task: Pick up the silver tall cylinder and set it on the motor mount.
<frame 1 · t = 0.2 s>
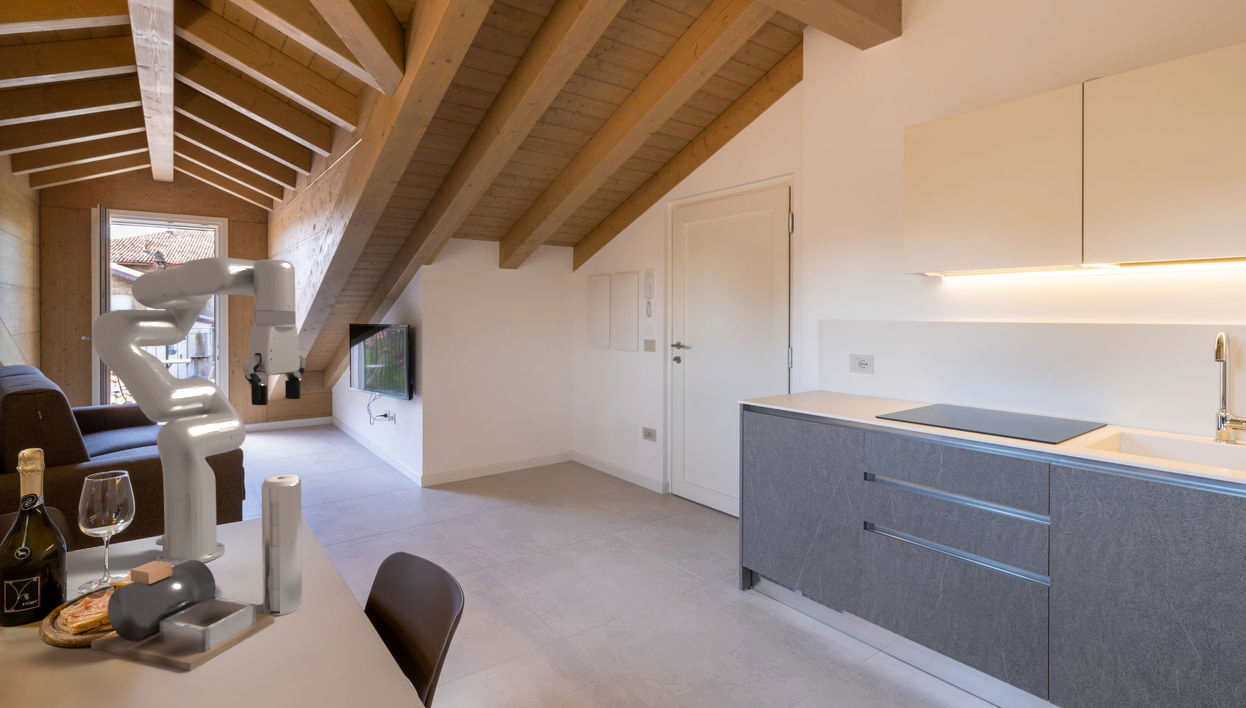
hand: (276, 401, 130), 37 cm above the table, tool pointing down, fingers open, 9 cm apart
silver tall cylinder: (282, 608, 117), on the table
motor mount: (186, 634, 107), on the table
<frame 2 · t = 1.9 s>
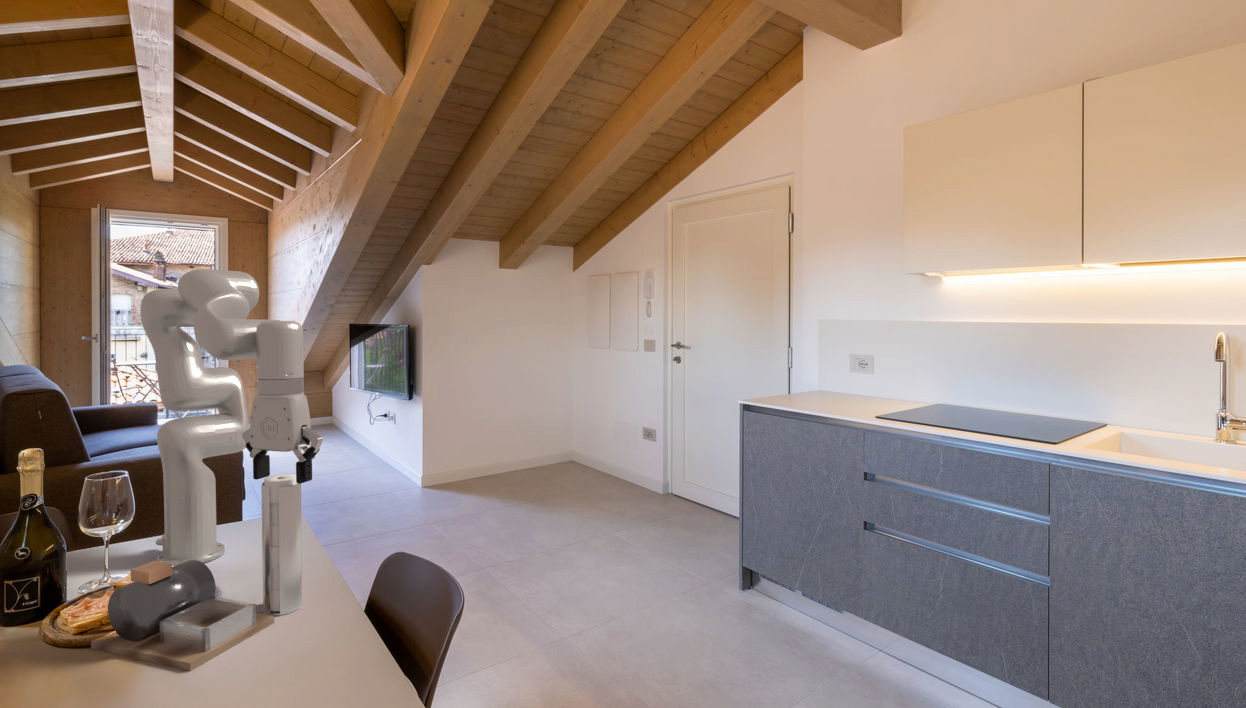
hand: (282, 479, 116), 25 cm above the table, tool pointing down, fingers open, 9 cm apart
nothing on the table moved.
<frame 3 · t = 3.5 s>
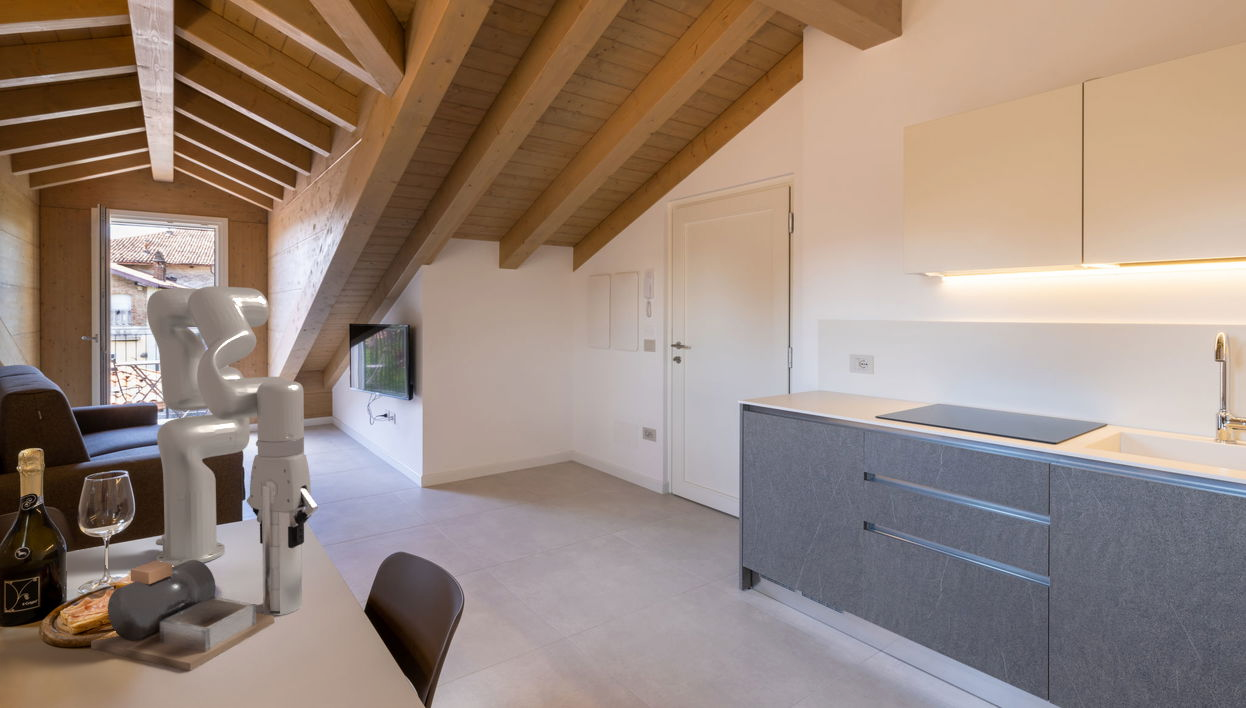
hand: (282, 542, 117), 13 cm above the table, tool pointing down, fingers closed on silver tall cylinder, 5 cm apart
silver tall cylinder: (282, 608, 117), on the table, touching gripper
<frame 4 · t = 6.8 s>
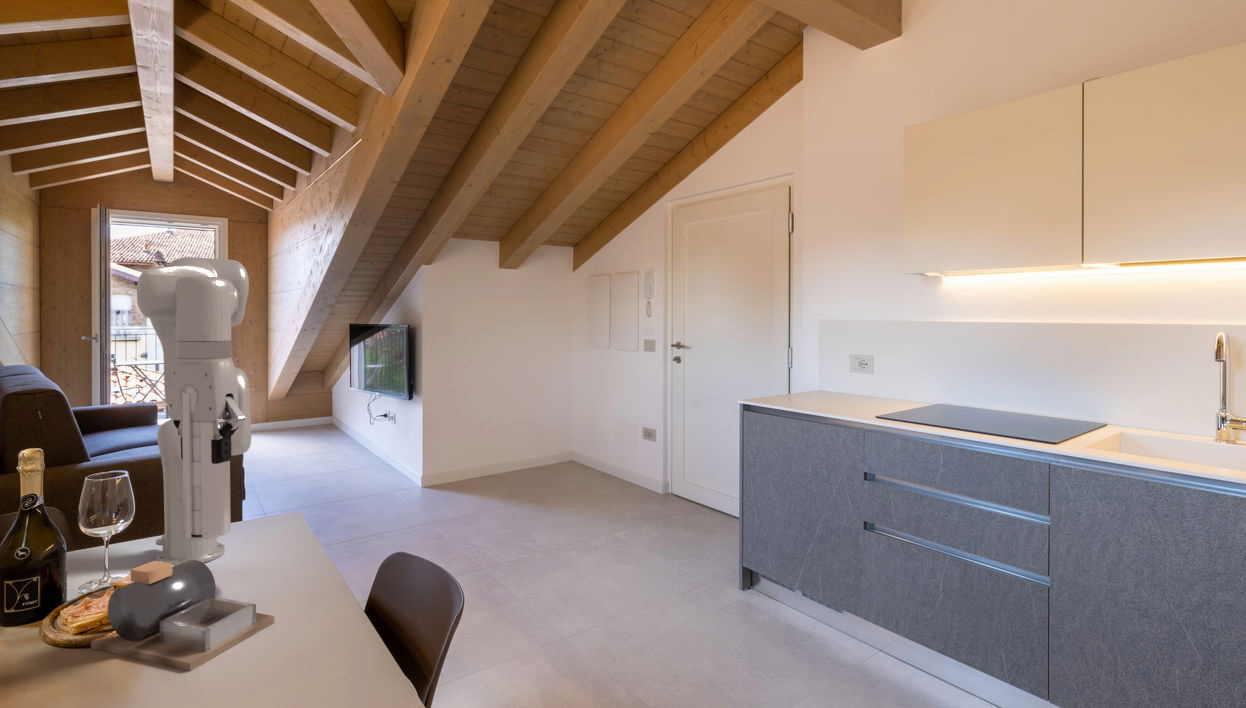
hand: (206, 459, 104), 31 cm above the table, tool pointing down, fingers closed on silver tall cylinder, 5 cm apart
silver tall cylinder: (207, 534, 104), point 18 cm above the table, touching gripper
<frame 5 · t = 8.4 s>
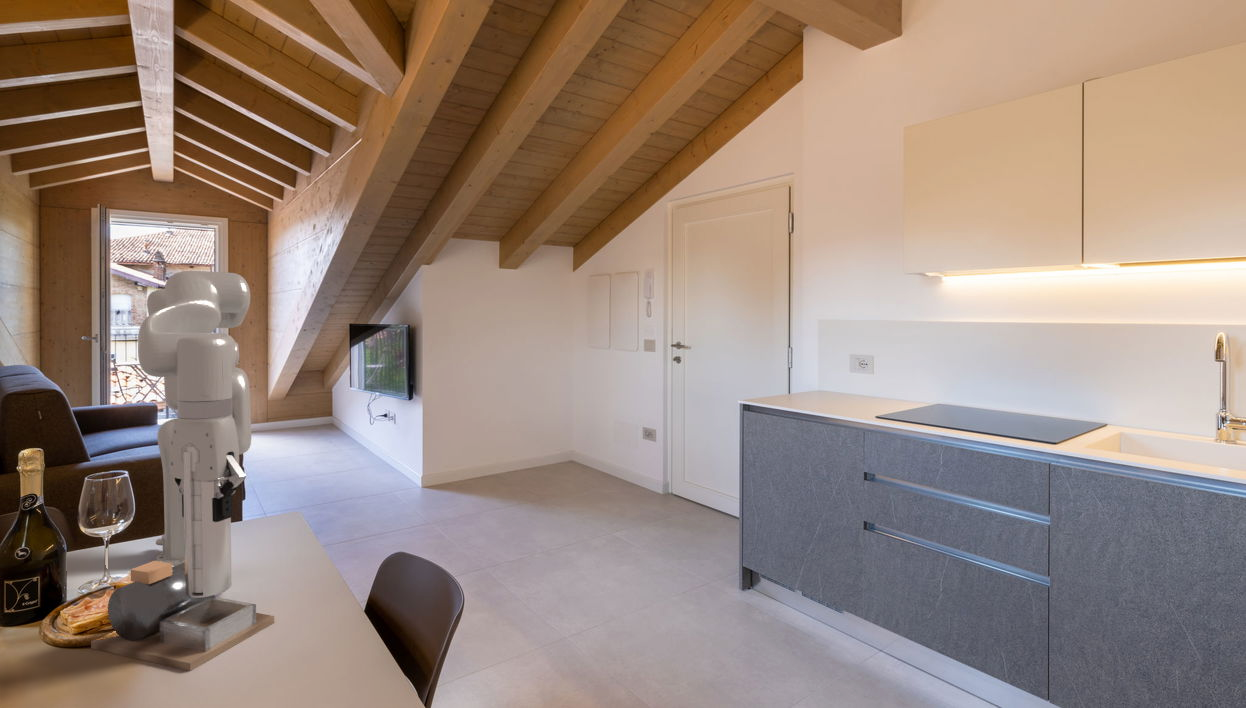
hand: (207, 516, 104), 21 cm above the table, tool pointing down, fingers closed on silver tall cylinder, 5 cm apart
silver tall cylinder: (208, 590, 105), point 9 cm above the table, touching gripper
when the fingers open (15 cm above the table, at t = 10.0 s): silver tall cylinder drops 2 cm, resting on motor mount.
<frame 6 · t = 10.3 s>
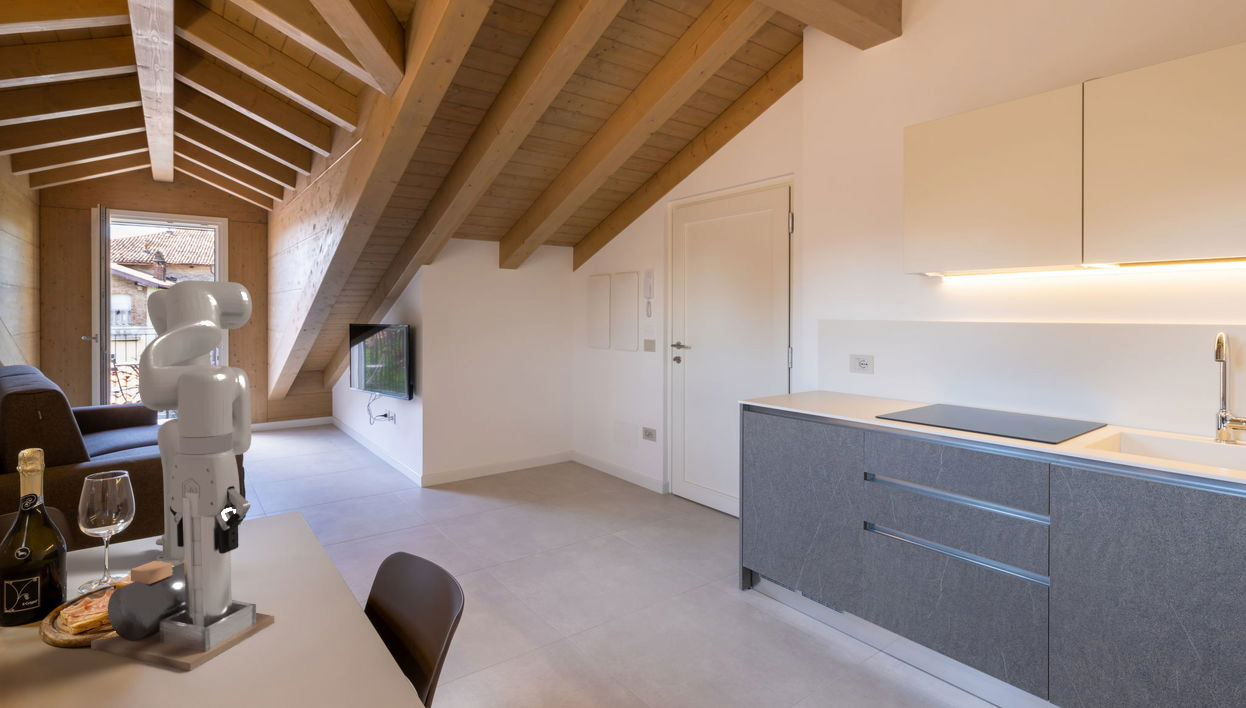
hand: (208, 547, 104), 16 cm above the table, tool pointing down, fingers open, 8 cm apart
silver tall cylinder: (209, 632, 106), point 1 cm above the table, touching motor mount
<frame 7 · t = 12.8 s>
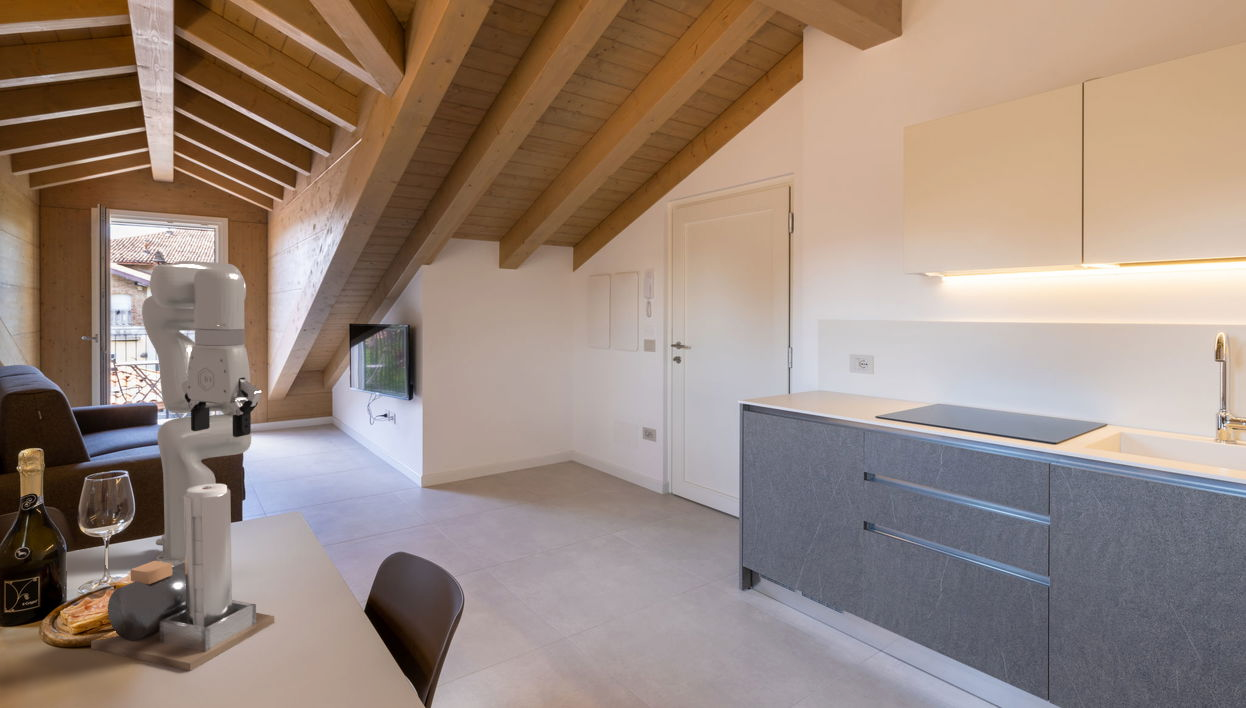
hand: (220, 432, 113), 33 cm above the table, tool pointing down, fingers open, 9 cm apart
nothing on the table moved.
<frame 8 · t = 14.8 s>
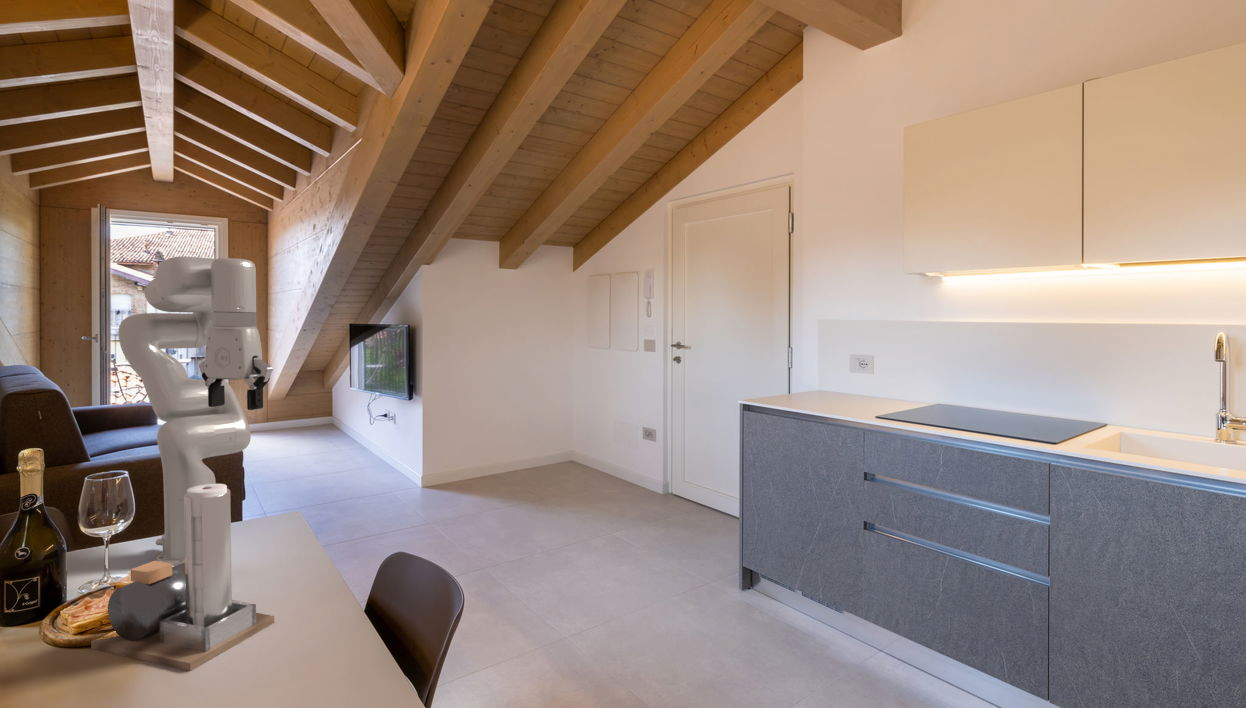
hand: (235, 407, 124), 36 cm above the table, tool pointing down, fingers open, 9 cm apart
nothing on the table moved.
at the end: silver tall cylinder 0.2 cm from the target spot on the motor mount, point 1.0 cm above the motor mount's base; silver tall cylinder tilted 0°; the gripper is holding nothing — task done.
